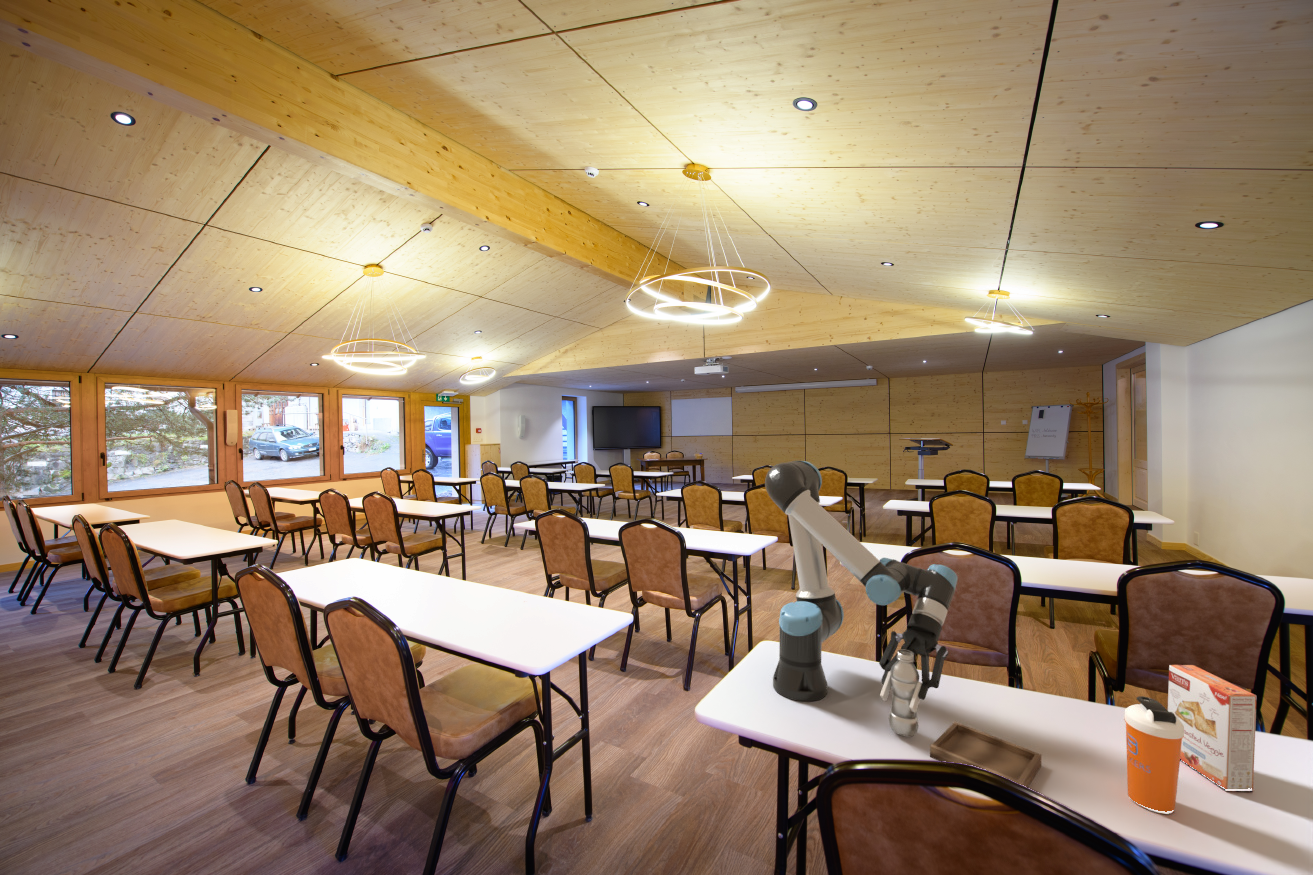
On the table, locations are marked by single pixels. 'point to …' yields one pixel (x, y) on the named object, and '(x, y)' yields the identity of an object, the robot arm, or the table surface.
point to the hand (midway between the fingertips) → (897, 703)
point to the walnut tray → (986, 753)
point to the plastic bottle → (903, 694)
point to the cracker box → (1214, 725)
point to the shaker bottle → (1153, 754)
